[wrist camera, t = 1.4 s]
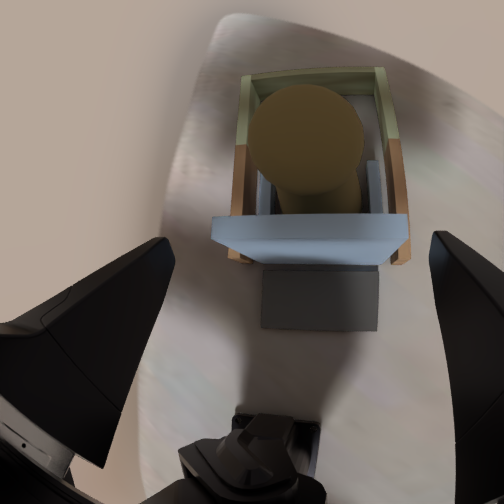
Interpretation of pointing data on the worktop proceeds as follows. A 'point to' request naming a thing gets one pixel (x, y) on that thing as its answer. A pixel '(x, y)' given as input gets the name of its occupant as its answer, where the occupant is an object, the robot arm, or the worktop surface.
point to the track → (342, 84)
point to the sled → (315, 231)
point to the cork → (309, 149)
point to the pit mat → (320, 300)
